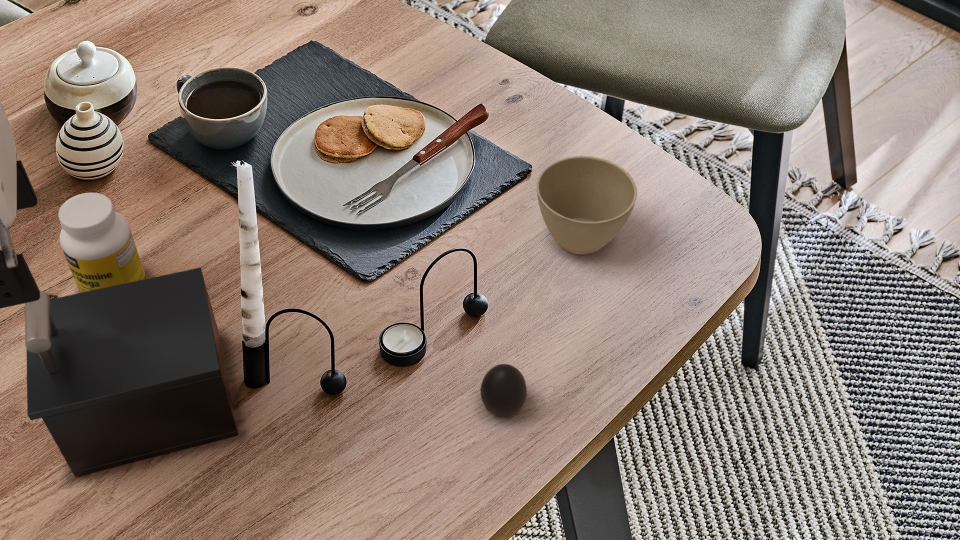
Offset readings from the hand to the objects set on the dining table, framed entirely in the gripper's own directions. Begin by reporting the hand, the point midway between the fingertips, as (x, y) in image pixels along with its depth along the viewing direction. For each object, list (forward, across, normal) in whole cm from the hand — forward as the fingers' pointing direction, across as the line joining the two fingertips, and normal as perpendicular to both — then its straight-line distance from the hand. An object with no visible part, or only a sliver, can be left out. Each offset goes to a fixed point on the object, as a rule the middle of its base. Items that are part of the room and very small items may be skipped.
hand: (16, 252), depth 67 cm
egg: (+22, +9, +34) cm, 42 cm away
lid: (+12, -1, +4) cm, 13 cm away
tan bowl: (+22, -8, +49) cm, 54 cm away
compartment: (+21, -1, +5) cm, 22 cm away
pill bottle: (+21, -15, +2) cm, 26 cm away
